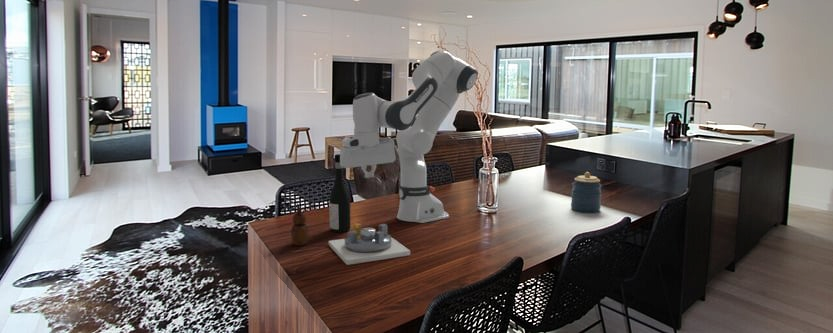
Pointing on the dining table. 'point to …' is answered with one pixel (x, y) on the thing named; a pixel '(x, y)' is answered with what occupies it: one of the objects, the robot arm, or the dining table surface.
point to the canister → (586, 194)
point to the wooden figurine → (299, 228)
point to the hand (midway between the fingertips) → (369, 177)
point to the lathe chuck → (367, 239)
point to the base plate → (357, 257)
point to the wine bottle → (339, 202)
